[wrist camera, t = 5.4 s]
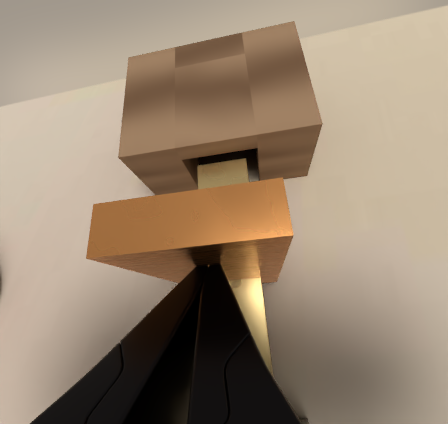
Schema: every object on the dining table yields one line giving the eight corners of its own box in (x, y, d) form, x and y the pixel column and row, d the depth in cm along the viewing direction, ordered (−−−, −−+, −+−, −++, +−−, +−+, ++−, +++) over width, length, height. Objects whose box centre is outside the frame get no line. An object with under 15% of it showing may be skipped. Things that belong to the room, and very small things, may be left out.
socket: (306, 175, 18) (322, 123, 13) (157, 196, 19) (118, 157, 14) (287, 90, 21) (294, 21, 16) (160, 113, 22) (128, 57, 17)
